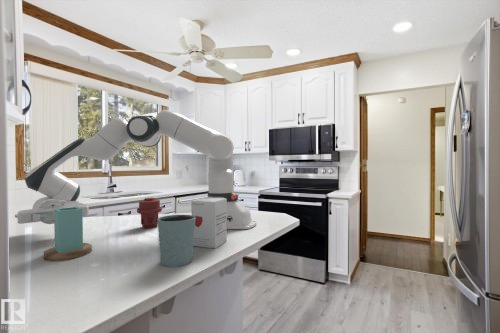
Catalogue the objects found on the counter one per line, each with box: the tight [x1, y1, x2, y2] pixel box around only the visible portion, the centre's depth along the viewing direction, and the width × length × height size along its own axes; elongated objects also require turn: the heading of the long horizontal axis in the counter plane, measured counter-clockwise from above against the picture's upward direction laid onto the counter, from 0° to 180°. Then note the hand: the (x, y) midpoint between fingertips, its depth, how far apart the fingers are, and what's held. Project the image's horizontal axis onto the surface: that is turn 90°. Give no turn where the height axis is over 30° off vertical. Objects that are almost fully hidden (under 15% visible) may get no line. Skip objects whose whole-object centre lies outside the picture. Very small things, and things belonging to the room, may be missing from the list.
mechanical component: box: [136, 197, 163, 230], centre depth 115 cm, size 12×10×10 cm
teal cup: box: [157, 214, 196, 268], centre depth 74 cm, size 10×10×12 cm
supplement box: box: [190, 196, 228, 249], centre depth 90 cm, size 9×9×15 cm
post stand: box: [43, 242, 93, 262], centre depth 81 cm, size 12×12×8 cm
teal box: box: [54, 207, 84, 253], centre depth 81 cm, size 6×6×12 cm
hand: (59, 216), depth 89 cm, fingers open, 8 cm apart
